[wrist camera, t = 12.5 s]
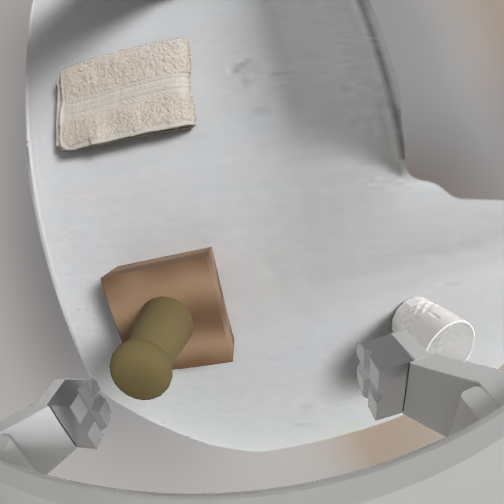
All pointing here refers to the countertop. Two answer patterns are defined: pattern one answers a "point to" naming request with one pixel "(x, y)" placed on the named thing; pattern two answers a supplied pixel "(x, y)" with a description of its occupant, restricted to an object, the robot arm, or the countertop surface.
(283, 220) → the countertop surface
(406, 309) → the white cup
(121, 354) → the olive tapered upright piece
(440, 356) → the robot arm
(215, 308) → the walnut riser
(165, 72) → the washcloth
